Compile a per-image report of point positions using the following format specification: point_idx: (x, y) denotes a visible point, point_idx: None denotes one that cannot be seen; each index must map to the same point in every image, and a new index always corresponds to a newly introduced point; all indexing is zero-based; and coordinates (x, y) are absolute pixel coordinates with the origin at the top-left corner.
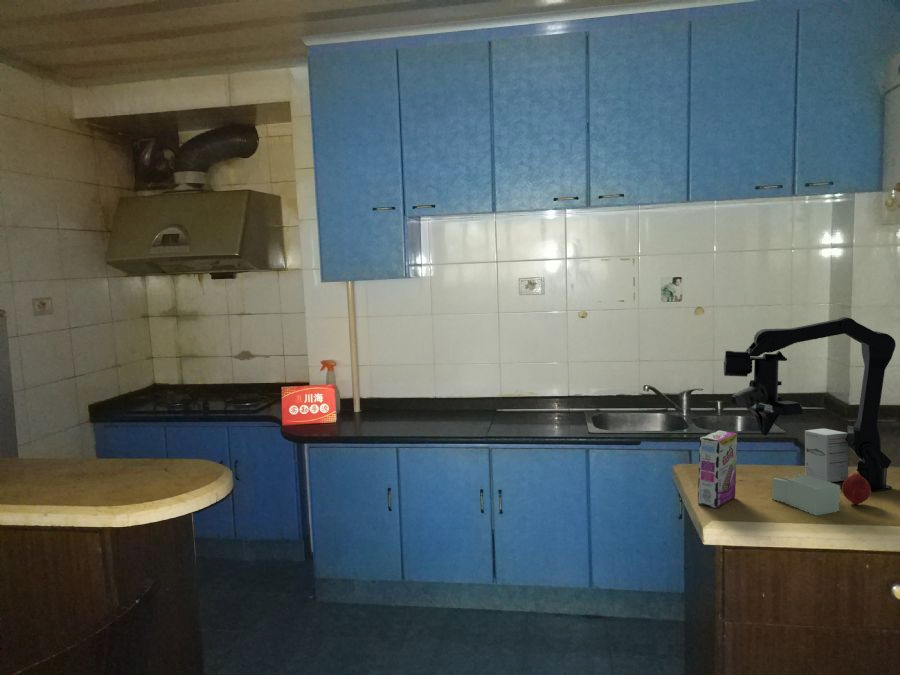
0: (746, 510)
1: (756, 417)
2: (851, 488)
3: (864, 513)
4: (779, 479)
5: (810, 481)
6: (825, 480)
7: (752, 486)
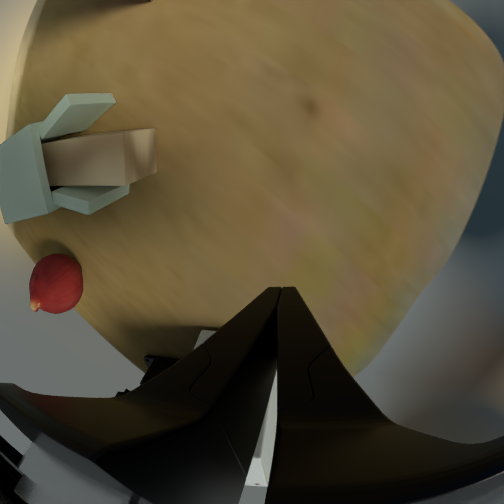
0: (78, 7)
1: (343, 391)
2: (37, 263)
3: (44, 240)
4: (57, 111)
5: (16, 176)
6: (206, 332)
7: (232, 101)
